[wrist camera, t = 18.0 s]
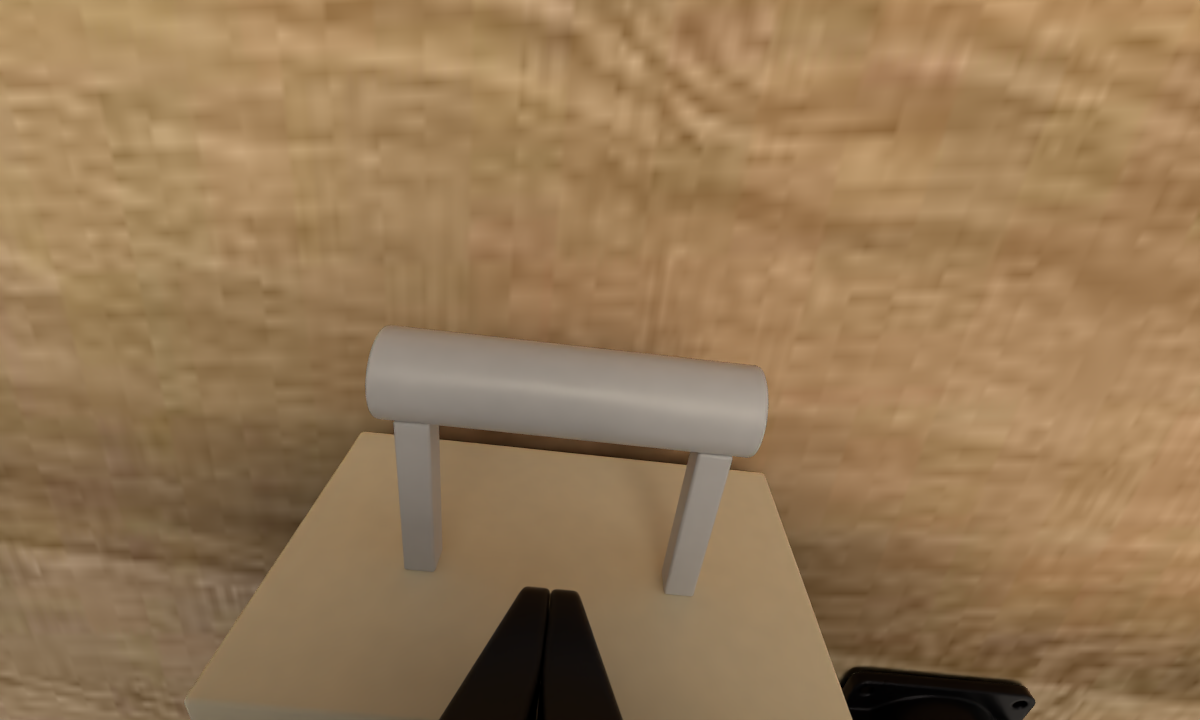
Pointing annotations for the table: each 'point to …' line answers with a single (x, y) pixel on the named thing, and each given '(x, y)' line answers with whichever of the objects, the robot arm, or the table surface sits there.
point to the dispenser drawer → (534, 544)
